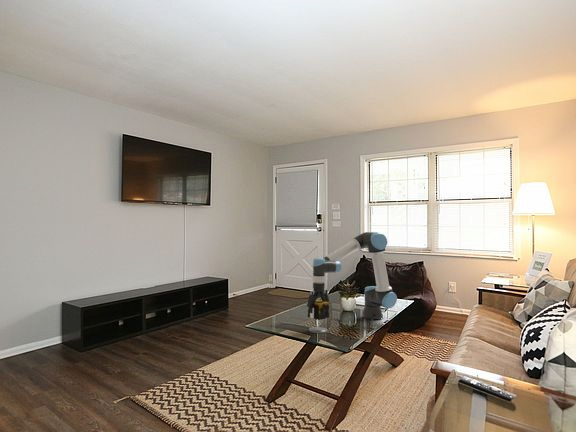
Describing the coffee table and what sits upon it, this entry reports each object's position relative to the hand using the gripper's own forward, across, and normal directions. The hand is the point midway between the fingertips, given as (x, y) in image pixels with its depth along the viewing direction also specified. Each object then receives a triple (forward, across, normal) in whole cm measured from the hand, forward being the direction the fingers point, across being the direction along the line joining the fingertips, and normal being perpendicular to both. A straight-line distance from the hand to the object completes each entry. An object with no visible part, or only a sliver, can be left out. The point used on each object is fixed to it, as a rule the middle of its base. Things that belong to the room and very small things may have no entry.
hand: (318, 316), depth 220 cm
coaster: (+9, 0, 0) cm, 9 cm away
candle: (+1, 0, 0) cm, 1 cm away
